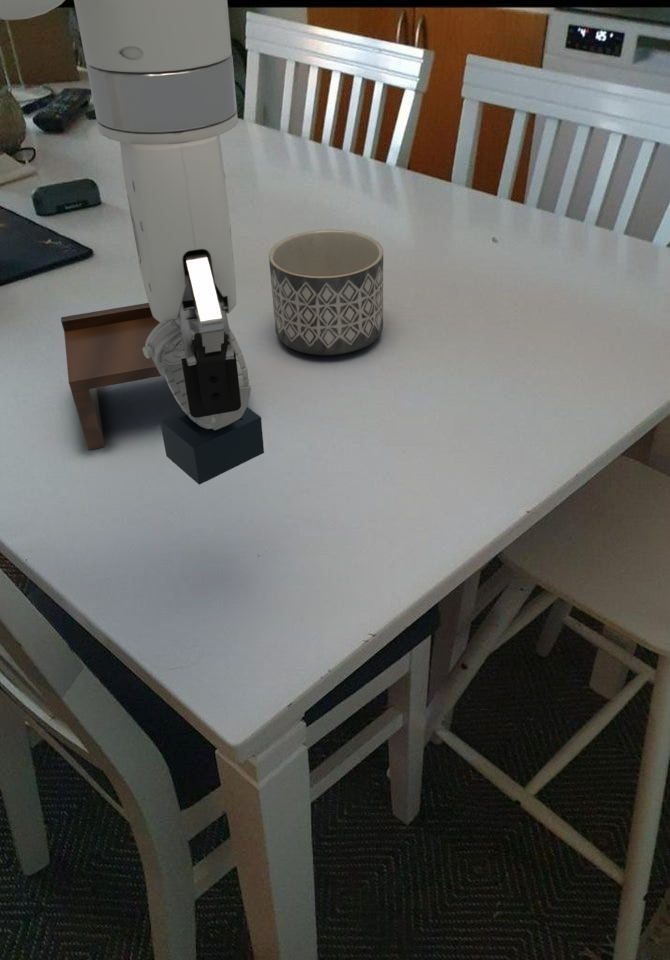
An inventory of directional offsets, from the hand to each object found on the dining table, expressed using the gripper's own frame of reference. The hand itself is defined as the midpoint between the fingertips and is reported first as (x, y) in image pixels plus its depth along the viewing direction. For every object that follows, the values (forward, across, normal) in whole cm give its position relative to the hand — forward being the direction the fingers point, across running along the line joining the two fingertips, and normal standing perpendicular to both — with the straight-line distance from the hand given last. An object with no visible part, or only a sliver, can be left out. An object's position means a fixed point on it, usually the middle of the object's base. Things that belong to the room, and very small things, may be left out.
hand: (203, 375), depth 54 cm
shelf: (+19, -27, -2) cm, 33 cm away
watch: (+7, 0, 0) cm, 7 cm away
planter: (+19, -35, +19) cm, 44 cm away
